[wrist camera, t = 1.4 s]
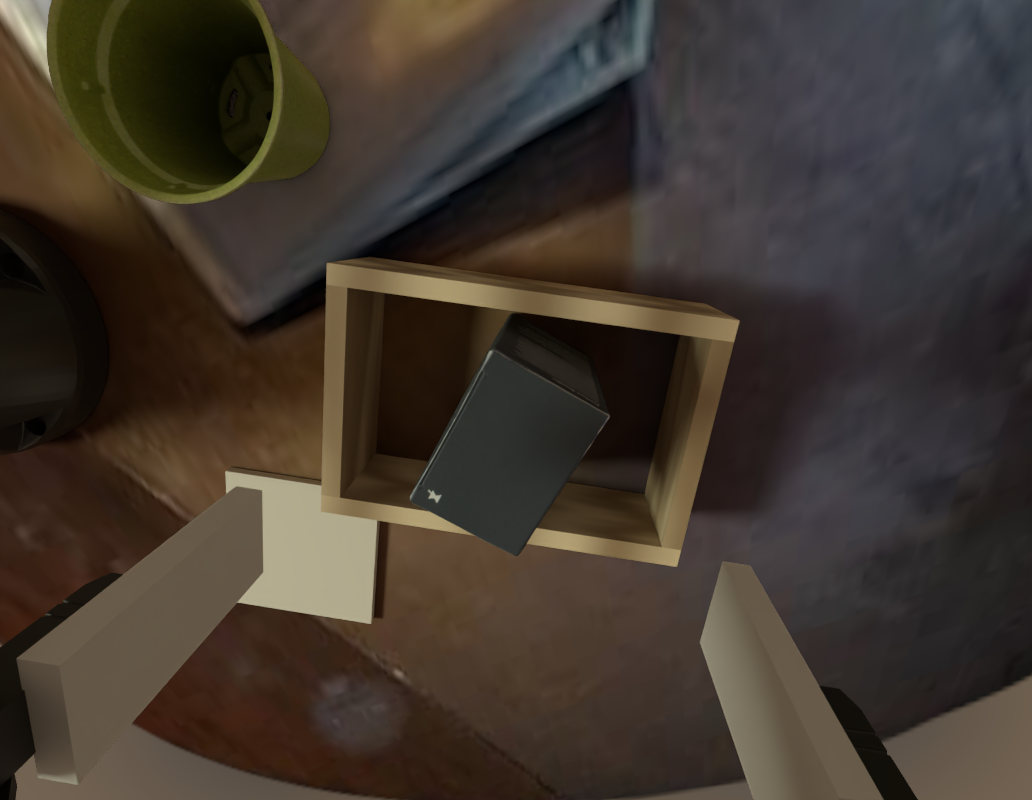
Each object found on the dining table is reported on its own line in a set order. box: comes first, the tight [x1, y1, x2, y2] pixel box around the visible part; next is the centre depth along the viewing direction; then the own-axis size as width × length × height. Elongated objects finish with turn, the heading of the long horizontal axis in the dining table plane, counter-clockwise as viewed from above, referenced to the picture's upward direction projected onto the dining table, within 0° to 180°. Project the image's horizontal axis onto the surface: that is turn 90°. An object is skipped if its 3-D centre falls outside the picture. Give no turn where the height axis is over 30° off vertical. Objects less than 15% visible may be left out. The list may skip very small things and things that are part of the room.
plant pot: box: [47, 0, 330, 204], centre depth 25 cm, size 9×9×9 cm
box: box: [410, 313, 610, 556], centre depth 28 cm, size 8×6×11 cm
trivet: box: [226, 467, 380, 624], centre depth 37 cm, size 10×10×1 cm
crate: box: [321, 257, 739, 567], centre depth 30 cm, size 19×13×6 cm
